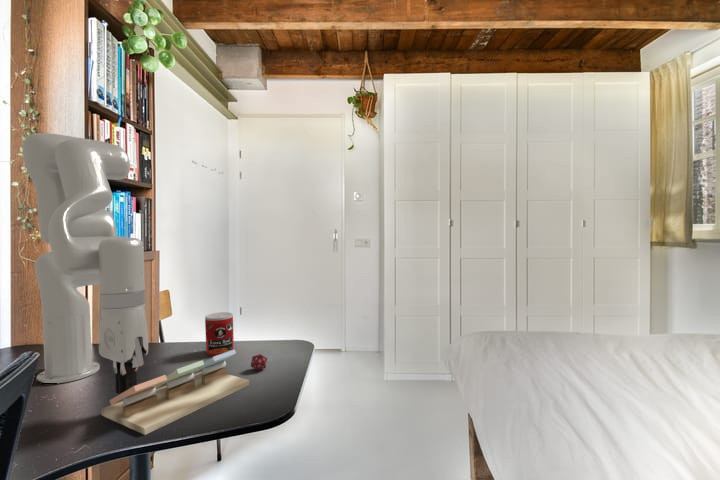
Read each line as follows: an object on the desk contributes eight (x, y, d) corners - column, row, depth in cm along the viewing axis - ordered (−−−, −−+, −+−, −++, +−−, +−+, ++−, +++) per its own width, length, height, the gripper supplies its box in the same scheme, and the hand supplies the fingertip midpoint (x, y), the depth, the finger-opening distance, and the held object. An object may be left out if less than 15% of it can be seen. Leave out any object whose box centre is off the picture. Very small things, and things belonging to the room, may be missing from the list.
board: (101, 415, 74) (100, 400, 74) (206, 373, 95) (206, 361, 94) (144, 435, 66) (144, 418, 66) (249, 385, 87) (248, 372, 87)
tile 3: (192, 381, 87) (188, 371, 88) (214, 372, 92) (210, 363, 93) (216, 367, 83) (212, 356, 83) (238, 358, 88) (234, 348, 88)
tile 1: (112, 412, 73) (109, 399, 73) (144, 400, 78) (140, 388, 78) (137, 398, 68) (133, 385, 68) (169, 386, 73) (165, 374, 74)
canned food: (206, 358, 106) (205, 319, 106) (205, 350, 113) (204, 313, 113) (235, 354, 109) (234, 316, 109) (232, 346, 117) (231, 311, 116)
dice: (259, 366, 99) (258, 350, 99) (270, 369, 97) (270, 353, 96) (247, 370, 96) (247, 355, 96) (259, 374, 93) (258, 358, 93)
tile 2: (156, 396, 80) (152, 385, 80) (182, 386, 85) (178, 375, 86) (180, 380, 75) (176, 368, 76) (206, 370, 80) (202, 359, 81)
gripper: (83, 300, 75) (87, 390, 76) (123, 307, 68) (127, 408, 68) (123, 294, 82) (126, 377, 82) (164, 300, 74) (166, 392, 75)
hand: (126, 391), depth 75 cm, fingers closed
